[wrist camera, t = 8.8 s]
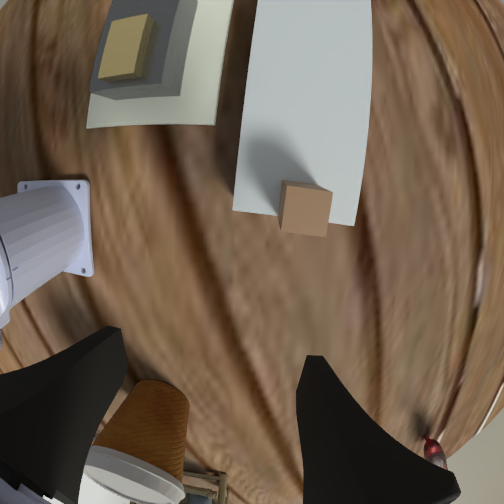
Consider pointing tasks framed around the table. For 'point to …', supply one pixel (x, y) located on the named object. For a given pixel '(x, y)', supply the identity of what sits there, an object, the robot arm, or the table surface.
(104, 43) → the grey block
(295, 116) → the white rectangular block
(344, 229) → the table surface
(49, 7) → the table surface
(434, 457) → the decorative bird figurine
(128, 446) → the disposable coffee cup
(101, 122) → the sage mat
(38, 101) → the table surface
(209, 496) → the swing bench
